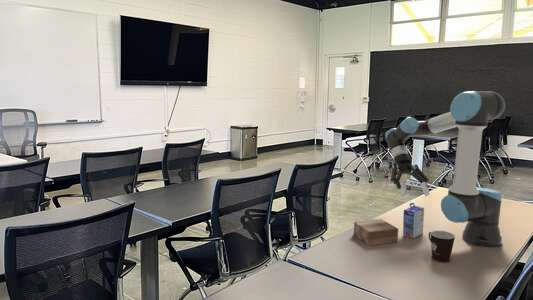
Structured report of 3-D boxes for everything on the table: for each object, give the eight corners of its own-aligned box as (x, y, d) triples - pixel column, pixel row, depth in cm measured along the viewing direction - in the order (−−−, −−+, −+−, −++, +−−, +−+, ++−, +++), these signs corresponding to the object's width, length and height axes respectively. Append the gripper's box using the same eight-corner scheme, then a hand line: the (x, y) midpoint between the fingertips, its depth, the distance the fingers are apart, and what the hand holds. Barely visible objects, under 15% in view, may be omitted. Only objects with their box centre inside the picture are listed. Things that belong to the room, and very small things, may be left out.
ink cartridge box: (411, 230, 186) (413, 200, 183) (423, 233, 182) (425, 202, 179) (401, 235, 179) (403, 204, 177) (413, 238, 175) (415, 207, 173)
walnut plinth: (397, 242, 171) (398, 228, 170) (368, 245, 168) (369, 231, 167) (380, 231, 184) (381, 219, 183) (353, 234, 180) (354, 221, 179)
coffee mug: (455, 264, 150) (457, 239, 148) (431, 262, 151) (433, 237, 150) (447, 252, 161) (449, 228, 159) (425, 250, 163) (427, 227, 161)
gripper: (417, 161, 203) (432, 198, 192) (375, 159, 195) (388, 198, 184) (426, 153, 198) (442, 191, 186) (383, 151, 190) (397, 190, 178)
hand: (415, 194), depth 185 cm, fingers open, 13 cm apart
